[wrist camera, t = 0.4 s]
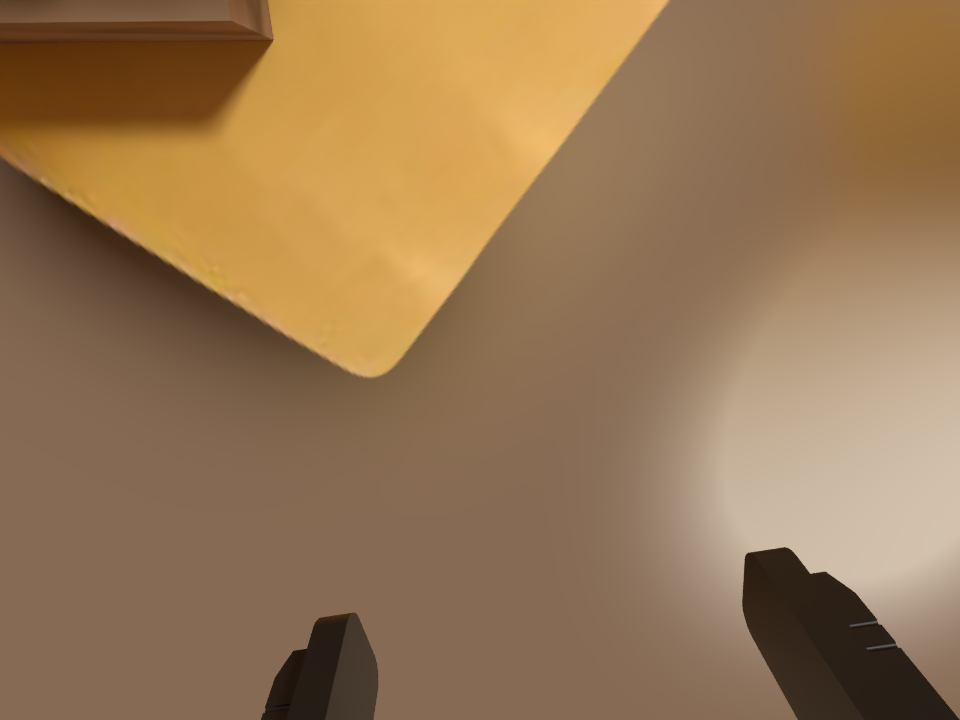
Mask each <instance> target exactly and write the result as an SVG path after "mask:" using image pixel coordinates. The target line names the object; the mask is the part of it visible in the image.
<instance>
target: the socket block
mask: <svg viewBox="0 0 960 720" xmlns="http://www.w3.org/2000/svg"><path fill="white" fill-rule="evenodd" d="M221 40H273V34H272V27H271V20H270V14H269V7H268V1H267V0H0V43H26V42H123V41H221Z"/></svg>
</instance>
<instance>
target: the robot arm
mask: <svg viewBox="0 0 960 720" xmlns="http://www.w3.org/2000/svg"><path fill="white" fill-rule="evenodd" d="M742 603H743V604H742V606H743V612H744V616H745V620H746V623H747V626H748V629H749V631H750V633H751V635H752V638H753V639H754V641H755V643H756V645H757V646H758V649H759V650H760V652H761V654H762V656H763V658H764V659H765V661H766V663H767V665H768V667H769V668H770V670H771V672H772V674H773V675H774V677H775V679H776V681H777V683H778V685H779V686H780V688H781V690H782V692H783V693H784V695H785V697H786V699H787V701H788V703H789V704H790V706H791V708H792V710H793V711H794V713H795V715H796V717H797V719H798V720H959V718H958V717H957V716H956V715H955V713H954V712H953V711H952V710H951V709H950V707H949V706H948V705H947V704H946V703H945V701H944V700H943V699H942V698H941V697H940V695H939V694H938V693H937V692H936V690H935V689H934V688H933V687H932V686H931V684H930V683H929V682H928V681H927V679H926V678H925V677H924V676H923V675H922V673H921V672H920V671H919V670H918V669H917V667H916V666H915V665H914V664H913V662H912V661H911V660H910V659H909V658H908V656H907V655H906V654H905V653H904V652H903V650H902V649H901V648H898V647H897V645H896V642H895V641H894V639H893V638H892V637H891V636H890V635H889V633H888V632H887V631H886V630H885V628H884V627H883V626H882V625H879V624H878V622H877V619H876V618H875V616H874V615H873V614H872V613H871V612H870V610H869V609H868V608H867V607H866V605H865V604H864V603H863V602H862V601H861V599H860V598H859V597H858V596H857V594H856V593H855V592H853V591H852V590H851V589H849V588H848V587H846V586H845V585H844V584H842V583H841V582H839V581H838V580H837V579H835V578H834V577H832V576H831V575H829V574H828V573H827V572H820V573H813V574H810V573H809V572H808V571H807V569H806V568H805V566H804V565H803V564H802V562H801V561H800V560H799V559H798V557H797V556H796V555H795V554H794V552H792V550H790V549H789V548H786V547H784V548H777V549H771V550H764V551H758V552H751V553H747V554H746V556H745V565H744V583H743V600H742ZM377 691H378V669H377V663H376V659H375V655H374V653H373V651H372V649H371V646H370V644H369V641H368V639H367V636H366V634H365V632H364V630H363V627H362V624H361V622H360V620H359V617H358V615H357V614H356V613H348V614H342V615H335V616H329V617H322V618H319V619H318V620H317V621H316V622H315V625H314V627H313V630H312V634H311V637H310V641H309V644H308V648H307V649H303V650H296V651H293V652H292V654H291V655H290V657H289V658H288V660H287V661H286V662H285V664H284V665H283V667H282V668H281V670H280V671H279V673H278V674H277V676H276V677H275V679H274V682H273V685H272V688H271V691H270V694H269V697H268V700H267V703H266V706H265V708H266V711H265V713H263V715H262V718H261V720H373V718H374V712H375V705H376V698H377Z"/></svg>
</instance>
